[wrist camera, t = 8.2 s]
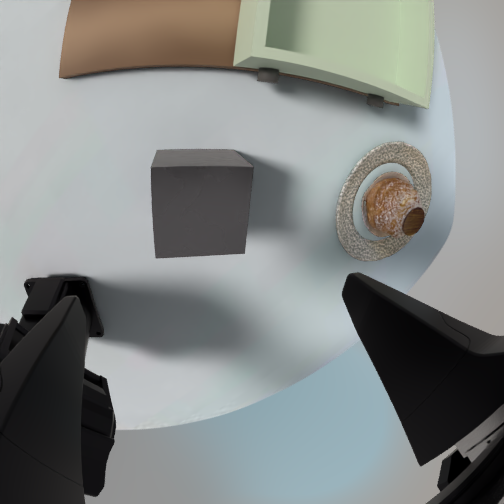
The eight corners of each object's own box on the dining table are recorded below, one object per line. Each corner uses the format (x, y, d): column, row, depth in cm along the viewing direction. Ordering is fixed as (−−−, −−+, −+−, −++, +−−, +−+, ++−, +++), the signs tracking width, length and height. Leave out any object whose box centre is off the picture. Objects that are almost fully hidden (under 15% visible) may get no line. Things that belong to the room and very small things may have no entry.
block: (228, 217, 20) (244, 253, 16) (158, 220, 18) (155, 258, 14) (233, 149, 17) (253, 166, 13) (157, 149, 16) (151, 167, 12)
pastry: (402, 114, 19) (441, 124, 15) (433, 206, 26) (461, 225, 22) (305, 195, 21) (335, 220, 17) (359, 275, 28) (384, 303, 24)
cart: (388, 111, 17) (426, 120, 14) (231, 78, 14) (249, 71, 10) (396, -25, 10) (430, -32, 7) (254, -78, 7) (273, -105, 3)
